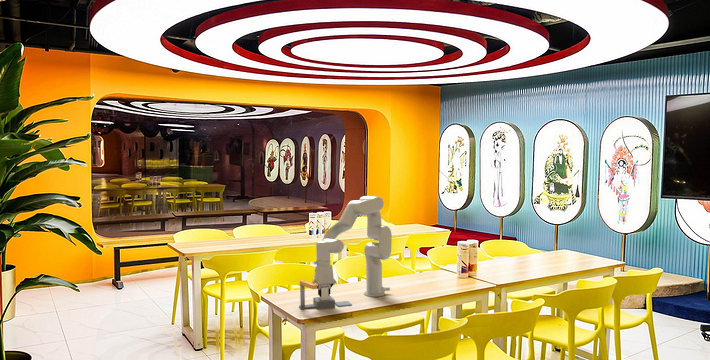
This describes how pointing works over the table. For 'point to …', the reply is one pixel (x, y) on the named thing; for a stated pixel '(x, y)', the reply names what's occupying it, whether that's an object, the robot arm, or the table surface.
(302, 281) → the latch bar
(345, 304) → the pad
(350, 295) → the table surface
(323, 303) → the socket block
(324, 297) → the plug
